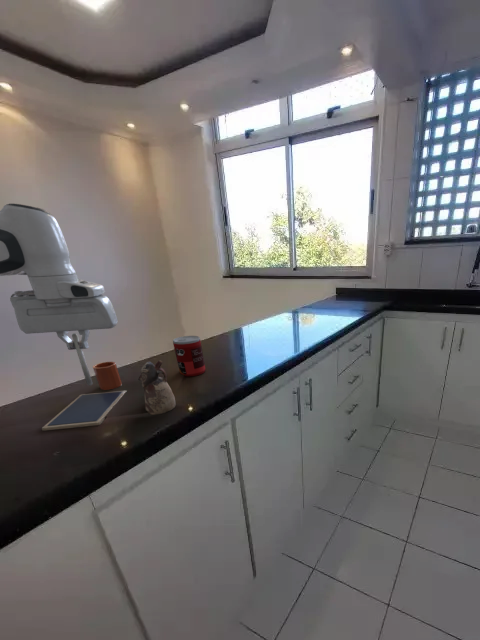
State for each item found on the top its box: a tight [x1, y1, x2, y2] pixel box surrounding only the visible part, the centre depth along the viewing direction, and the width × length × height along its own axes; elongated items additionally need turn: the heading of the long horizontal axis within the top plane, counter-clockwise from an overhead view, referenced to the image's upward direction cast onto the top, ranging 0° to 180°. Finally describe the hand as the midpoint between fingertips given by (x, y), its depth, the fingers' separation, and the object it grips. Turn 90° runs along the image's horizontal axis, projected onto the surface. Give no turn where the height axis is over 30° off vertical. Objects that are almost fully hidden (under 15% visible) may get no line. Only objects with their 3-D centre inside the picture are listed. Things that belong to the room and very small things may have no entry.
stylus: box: [71, 332, 93, 387], centre depth 77 cm, size 1×1×13 cm
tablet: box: [41, 390, 127, 431], centre depth 77 cm, size 12×18×1 cm, turn 8°
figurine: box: [138, 360, 177, 416], centre depth 74 cm, size 7×7×12 cm
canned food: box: [172, 335, 206, 378], centre depth 97 cm, size 8×8×11 cm
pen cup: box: [92, 361, 123, 391], centre depth 89 cm, size 6×6×7 cm
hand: (79, 348), depth 76 cm, fingers closed on stylus, 1 cm apart
